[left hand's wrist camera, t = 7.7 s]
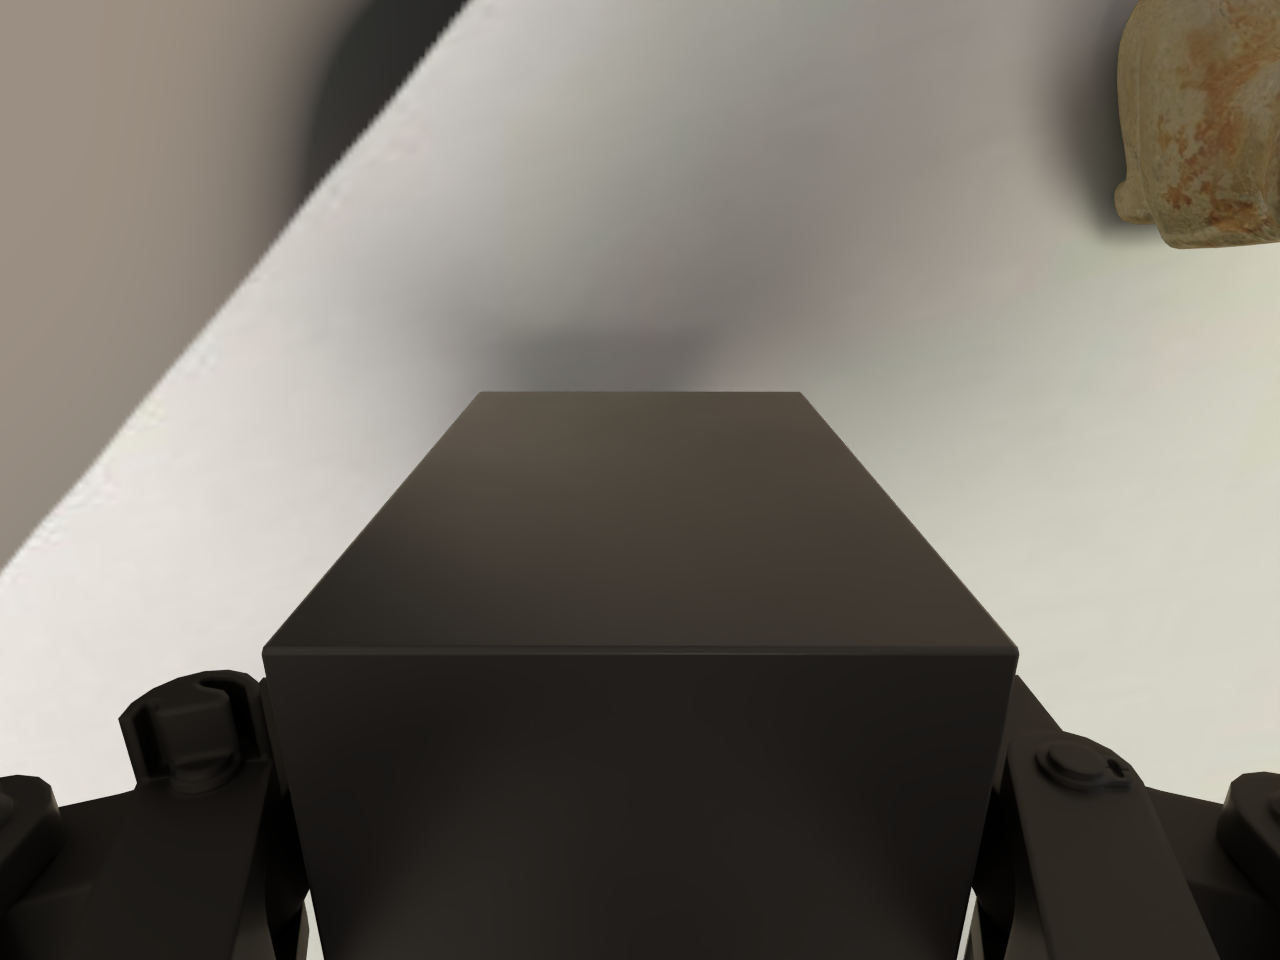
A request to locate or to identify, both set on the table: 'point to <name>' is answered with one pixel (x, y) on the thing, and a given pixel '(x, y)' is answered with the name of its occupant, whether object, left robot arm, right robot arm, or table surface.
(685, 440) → the bar
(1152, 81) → the sculpture
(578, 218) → the table surface
